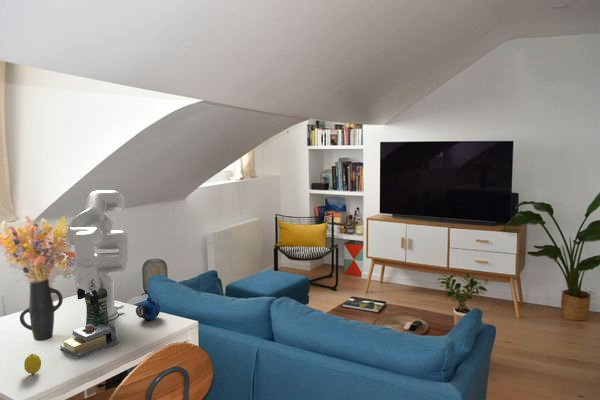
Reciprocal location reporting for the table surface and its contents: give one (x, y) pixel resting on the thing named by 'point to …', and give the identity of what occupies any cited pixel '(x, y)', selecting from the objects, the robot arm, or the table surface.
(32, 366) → the lemon
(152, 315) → the bomb
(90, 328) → the walnut pin
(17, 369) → the table surface
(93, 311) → the coffee jar
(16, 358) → the table surface
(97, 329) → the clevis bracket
